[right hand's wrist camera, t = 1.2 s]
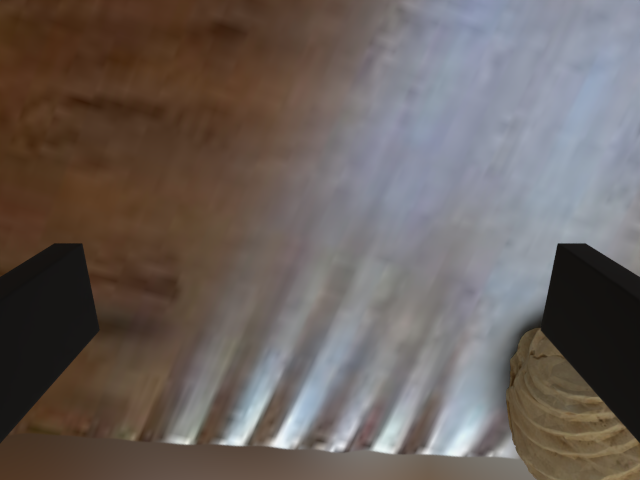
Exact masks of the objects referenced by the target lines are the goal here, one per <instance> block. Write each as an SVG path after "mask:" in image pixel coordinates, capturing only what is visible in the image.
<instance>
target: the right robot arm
mask: <svg viewBox="0 0 640 480" xmlns="http://www.w3.org/2000/svg"><path fill="white" fill-rule="evenodd" d="M98 331H99V325H98V320H97V315H96V310H95V305H94V300H93V295H92V290H91V285H90V280H89V275H88V270H87V265H86V260H85V255H84V250H83V245H82V244H53V245H51V246H50V247H48V248H46V249H45V250H43V251H42V252H40V253H38V254H37V255H35V256H34V257H32V258H30V259H29V260H27V261H25V262H24V263H22V264H21V265H19V266H17V267H16V268H14V269H13V270H11V271H9V272H8V273H6V274H4V275H3V276H1V277H0V443H1V442H2V441H3V440H4V438H5V437H6V436H7V435H8V434H9V433H10V432H11V430H12V429H13V428H14V427H15V426H16V425H17V424H18V422H19V421H20V420H21V419H22V418H23V417H24V416H25V415H26V413H27V412H28V411H29V410H30V409H31V408H32V407H33V405H34V404H35V403H36V402H37V401H38V400H39V399H40V397H41V396H42V395H43V394H44V393H45V392H46V391H47V389H48V388H49V387H50V386H51V385H52V384H53V383H54V382H55V380H56V379H57V378H58V377H59V376H60V375H61V374H62V372H63V371H64V370H65V369H66V368H67V367H68V366H69V364H70V363H71V362H72V361H73V360H74V359H75V358H76V356H77V355H78V354H79V353H80V352H81V351H82V350H83V348H84V347H85V346H86V345H87V344H88V343H89V342H90V341H91V339H92V338H93V337H94V336H95V335H96V334H97V333H98ZM541 331H542V333H543V334H544V335H545V336H546V337H547V338H548V339H549V341H550V342H551V343H552V344H553V345H554V346H555V347H556V348H557V350H558V351H559V352H560V353H561V354H562V355H563V356H564V358H565V359H566V360H567V361H568V362H569V363H570V364H571V366H572V367H573V368H574V369H575V370H576V371H577V372H578V374H579V375H580V376H581V377H582V378H583V379H584V380H585V382H586V383H587V384H588V385H589V386H590V387H591V388H592V389H593V391H594V392H595V393H596V394H597V395H598V396H599V397H600V399H601V400H602V401H603V402H604V403H605V404H606V405H607V407H608V408H609V409H610V410H611V411H612V412H613V413H614V415H615V416H616V417H617V418H618V419H619V420H620V421H621V422H622V424H623V425H624V426H625V427H626V428H627V429H628V430H629V432H630V433H631V434H632V435H633V436H634V437H635V438H636V440H637V441H638V442H639V443H640V277H639V276H637V275H636V274H634V273H632V272H631V271H629V270H627V269H626V268H624V267H623V266H621V265H619V264H618V263H616V262H615V261H613V260H611V259H610V258H608V257H606V256H605V255H603V254H602V253H600V252H598V251H597V250H595V249H594V248H592V247H590V246H589V245H587V244H558V245H557V250H556V255H555V260H554V265H553V270H552V275H551V280H550V285H549V290H548V295H547V300H546V305H545V310H544V315H543V320H542V325H541Z"/></svg>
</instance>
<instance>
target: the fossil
mask: <svg viewBox="0 0 640 480" xmlns="http://www.w3.org/2000/svg"><path fill="white" fill-rule="evenodd" d="M510 366H511V371H510V386H509V388H508V389H507V390H506V402H507V410H508V418H509V425H510V429H511V432H512V440H513V442H514V445H515V446H516V447H515V448H516V451H517V453H518V454H519V456H520V457H521V459H522V460H523V461H524V463H525V464H526V465H527V467H528V470H529V472H530V473H531V474H532V475H533V476H534V477H535V478H536V479H537V480H640V443H639V442H638V441H637V440H636V438H635V437H634V436H633V435H632V434H631V433H630V432H629V430H628V429H627V428H626V427H625V426H624V425H623V424H622V422H621V421H620V420H619V419H618V418H617V417H616V416H615V415H614V413H613V412H612V411H611V410H610V409H609V408H608V407H607V405H606V404H605V403H604V402H603V401H602V400H601V399H600V397H599V396H598V395H597V394H596V393H595V392H594V391H593V389H592V388H591V387H590V386H589V385H588V384H587V383H586V382H585V380H584V379H583V378H582V377H581V376H580V375H579V374H578V372H577V371H576V370H575V369H574V368H573V367H572V366H571V364H570V363H569V362H568V361H567V360H566V359H565V358H564V356H563V355H562V354H561V353H560V352H559V351H558V350H557V348H556V347H555V346H554V345H553V344H552V343H551V342H550V341H549V339H548V338H547V337H546V336H545V335H544V334H543V333H542V331H541V328H534V329H532V330H530V331H527V332H526V333H525V334H524V335H523V336H522V338H521V340H520V342H519V344H518V350H517V352H516V353H515V354H514V356H513V357H512V358H511V360H510Z"/></svg>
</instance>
